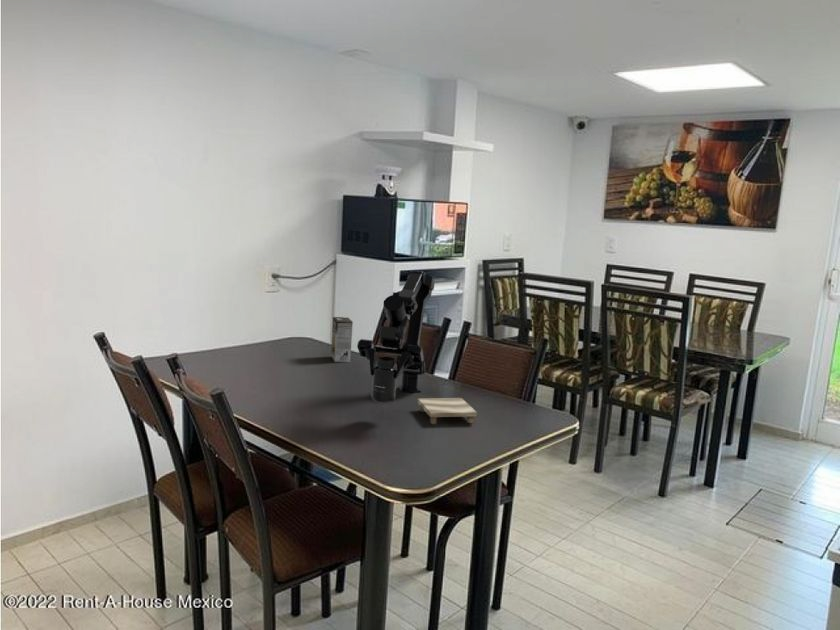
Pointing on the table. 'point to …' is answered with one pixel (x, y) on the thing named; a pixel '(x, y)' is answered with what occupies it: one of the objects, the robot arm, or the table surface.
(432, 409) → the small stand
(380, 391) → the supplement bottle
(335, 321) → the coffee box
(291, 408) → the table surface
